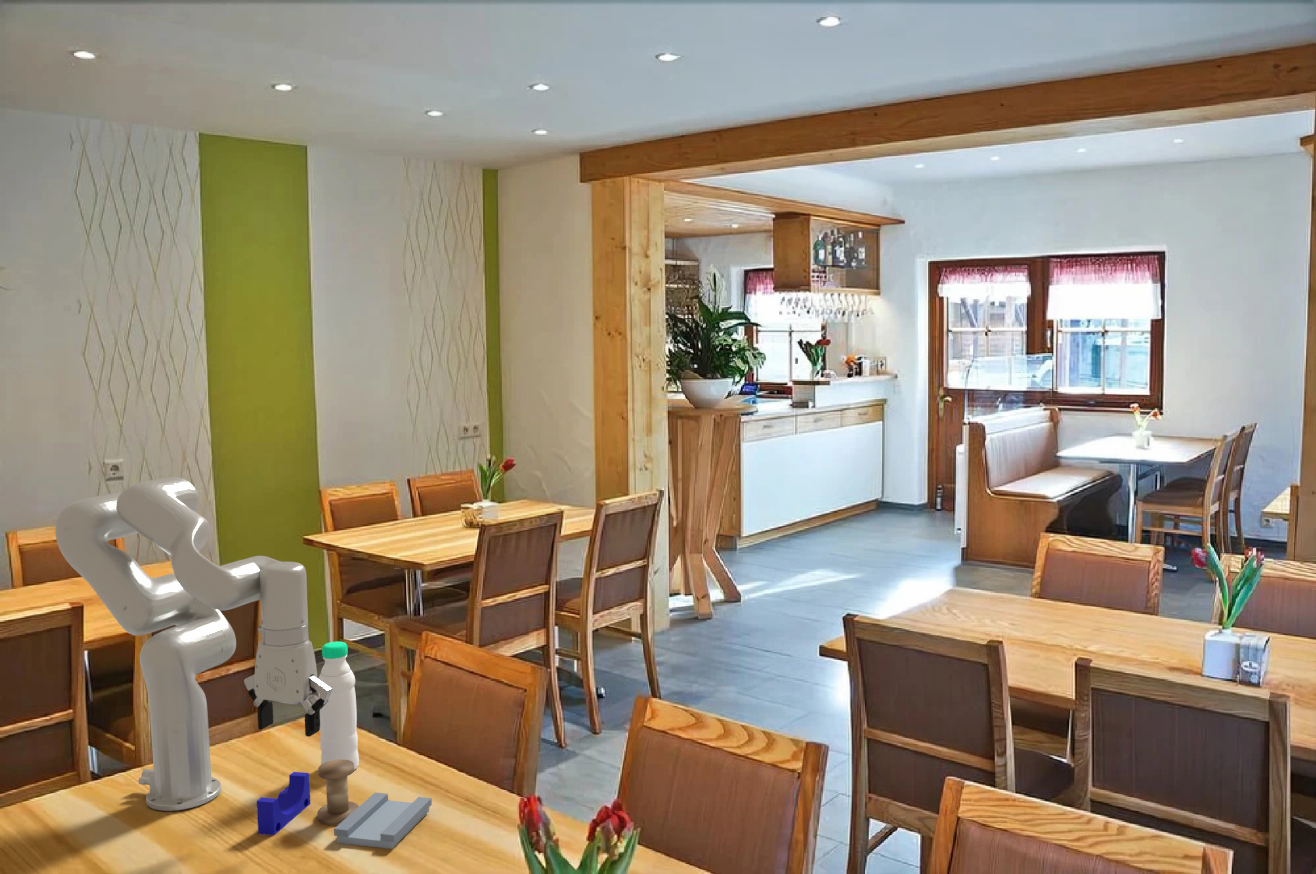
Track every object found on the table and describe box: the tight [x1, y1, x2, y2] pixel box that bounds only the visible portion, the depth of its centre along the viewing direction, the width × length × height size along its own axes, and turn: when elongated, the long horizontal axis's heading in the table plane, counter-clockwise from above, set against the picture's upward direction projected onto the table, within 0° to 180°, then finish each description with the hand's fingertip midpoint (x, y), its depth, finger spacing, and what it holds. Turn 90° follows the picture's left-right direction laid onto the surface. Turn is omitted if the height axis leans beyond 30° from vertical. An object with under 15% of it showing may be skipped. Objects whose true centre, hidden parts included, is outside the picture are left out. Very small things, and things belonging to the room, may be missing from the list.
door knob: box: [316, 759, 360, 826], centre depth 187 cm, size 7×7×9 cm
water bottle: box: [317, 641, 360, 771], centre depth 205 cm, size 7×7×25 cm
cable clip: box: [256, 771, 311, 836], centre depth 186 cm, size 12×4×6 cm, turn 169°
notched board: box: [333, 792, 433, 850], centre depth 183 cm, size 11×14×2 cm
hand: (289, 730), depth 185 cm, fingers open, 9 cm apart
